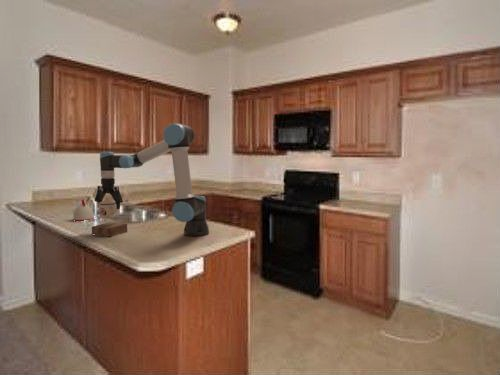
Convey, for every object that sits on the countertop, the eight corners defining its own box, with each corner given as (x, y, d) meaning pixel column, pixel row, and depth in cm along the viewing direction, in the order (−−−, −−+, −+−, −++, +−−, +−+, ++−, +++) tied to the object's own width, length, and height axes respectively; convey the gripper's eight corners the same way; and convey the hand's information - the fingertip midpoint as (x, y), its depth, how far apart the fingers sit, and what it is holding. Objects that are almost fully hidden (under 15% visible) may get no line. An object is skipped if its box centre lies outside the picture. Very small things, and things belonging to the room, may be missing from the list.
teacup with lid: (96, 217, 199) (95, 198, 198) (110, 215, 206) (109, 196, 205) (107, 219, 192) (107, 200, 191) (121, 217, 200) (121, 198, 198)
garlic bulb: (92, 217, 250) (91, 197, 248) (96, 220, 239) (95, 200, 237) (71, 219, 242) (70, 199, 240) (75, 222, 231) (74, 201, 229)
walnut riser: (127, 231, 205) (127, 223, 204) (110, 237, 191) (110, 228, 191) (109, 230, 209) (108, 222, 209) (91, 235, 196) (91, 226, 196)
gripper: (87, 177, 197) (88, 213, 200) (119, 178, 189) (120, 216, 192) (96, 176, 204) (98, 211, 207) (128, 177, 196) (129, 214, 199)
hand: (109, 213), depth 199 cm, fingers closed on teacup with lid, 12 cm apart
